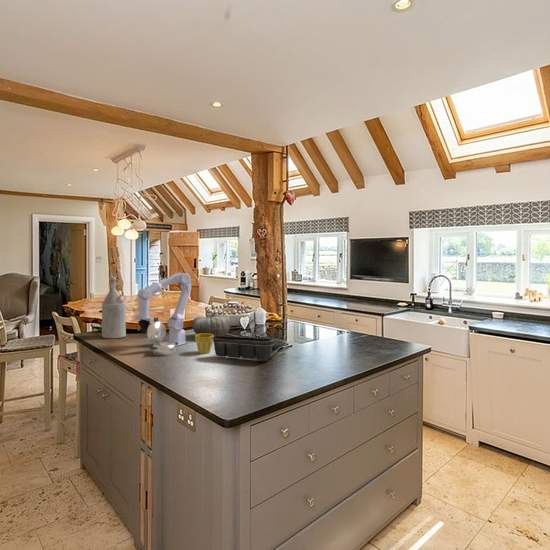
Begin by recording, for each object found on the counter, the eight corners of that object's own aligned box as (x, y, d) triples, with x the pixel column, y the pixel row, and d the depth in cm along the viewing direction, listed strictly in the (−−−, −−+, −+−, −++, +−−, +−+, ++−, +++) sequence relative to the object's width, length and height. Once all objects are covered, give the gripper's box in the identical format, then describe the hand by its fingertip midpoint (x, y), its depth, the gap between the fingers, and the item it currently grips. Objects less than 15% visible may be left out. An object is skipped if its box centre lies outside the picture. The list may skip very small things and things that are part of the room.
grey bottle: (117, 339, 251) (118, 277, 249) (96, 337, 257) (96, 276, 255) (131, 336, 263) (131, 276, 261) (111, 334, 269) (111, 276, 267)
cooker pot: (169, 348, 230) (170, 340, 229) (183, 352, 223) (183, 343, 222) (144, 354, 216) (144, 345, 216) (158, 357, 209) (158, 348, 209)
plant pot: (209, 355, 217) (209, 337, 217) (192, 353, 219) (192, 336, 219) (216, 350, 227) (216, 334, 227) (199, 349, 229) (199, 333, 229)
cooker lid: (166, 341, 227) (165, 340, 228) (165, 316, 228) (164, 316, 228) (148, 344, 218) (147, 344, 218) (147, 318, 218) (146, 318, 218)
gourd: (221, 338, 249) (218, 311, 251) (186, 341, 256) (184, 315, 258) (236, 335, 273) (234, 310, 274) (204, 338, 280) (202, 314, 281)
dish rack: (208, 359, 210) (209, 336, 209) (239, 342, 252) (239, 323, 252) (269, 365, 200) (270, 341, 200) (290, 346, 243) (291, 327, 242)
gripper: (130, 308, 229) (130, 332, 230) (145, 311, 221) (145, 335, 221) (141, 307, 235) (141, 330, 236) (156, 310, 226) (156, 333, 227)
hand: (144, 332), depth 229 cm, fingers closed
